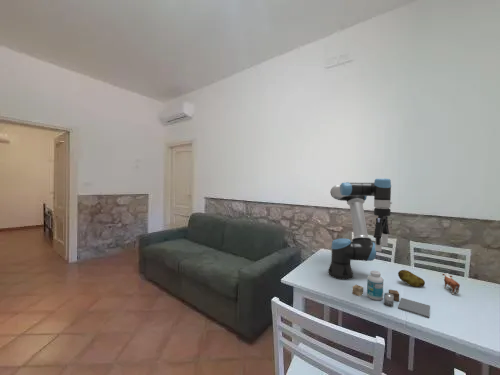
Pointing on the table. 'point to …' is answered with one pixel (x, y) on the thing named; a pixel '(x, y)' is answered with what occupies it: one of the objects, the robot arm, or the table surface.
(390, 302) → the grey egg shape
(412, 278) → the potato
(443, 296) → the table surface
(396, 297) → the walnut cube
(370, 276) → the pill bottle
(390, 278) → the table surface
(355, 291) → the beech cube
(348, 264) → the robot arm
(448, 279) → the bull figurine
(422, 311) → the coaster
